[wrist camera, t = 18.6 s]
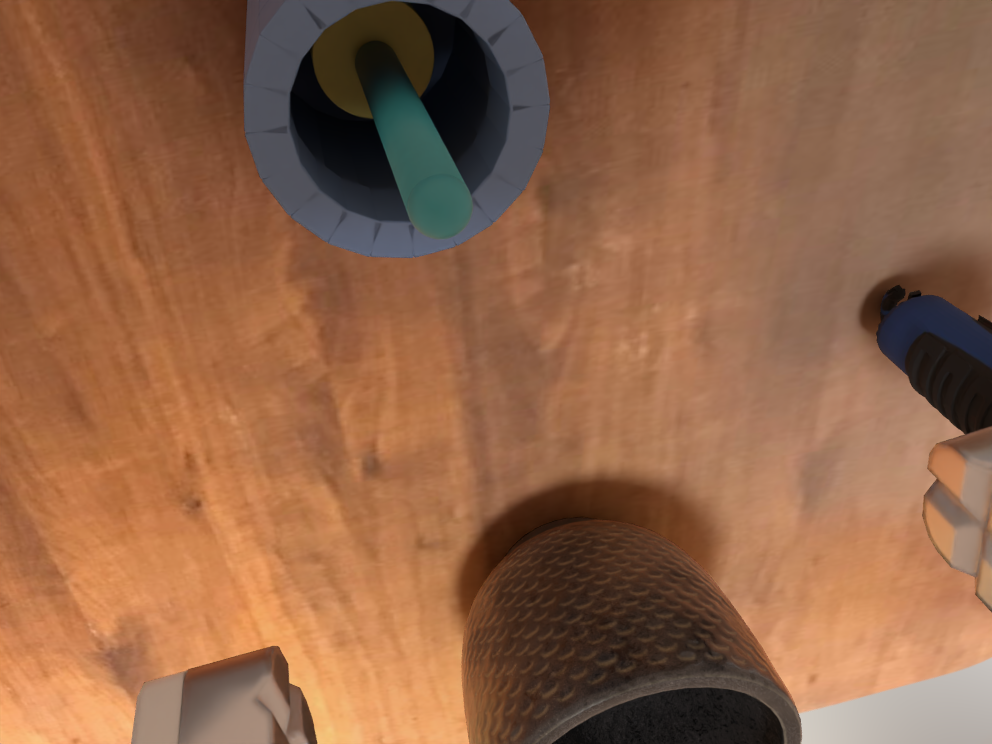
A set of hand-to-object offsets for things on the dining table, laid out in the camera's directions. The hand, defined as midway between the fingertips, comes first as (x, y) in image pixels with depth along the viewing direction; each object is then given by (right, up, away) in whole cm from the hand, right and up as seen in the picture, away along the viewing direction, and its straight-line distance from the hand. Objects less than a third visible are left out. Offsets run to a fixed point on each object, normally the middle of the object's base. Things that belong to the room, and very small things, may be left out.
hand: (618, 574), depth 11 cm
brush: (-7, +17, +27) cm, 33 cm away
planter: (+3, -10, +49) cm, 50 cm away
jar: (-7, +17, +28) cm, 34 cm away
